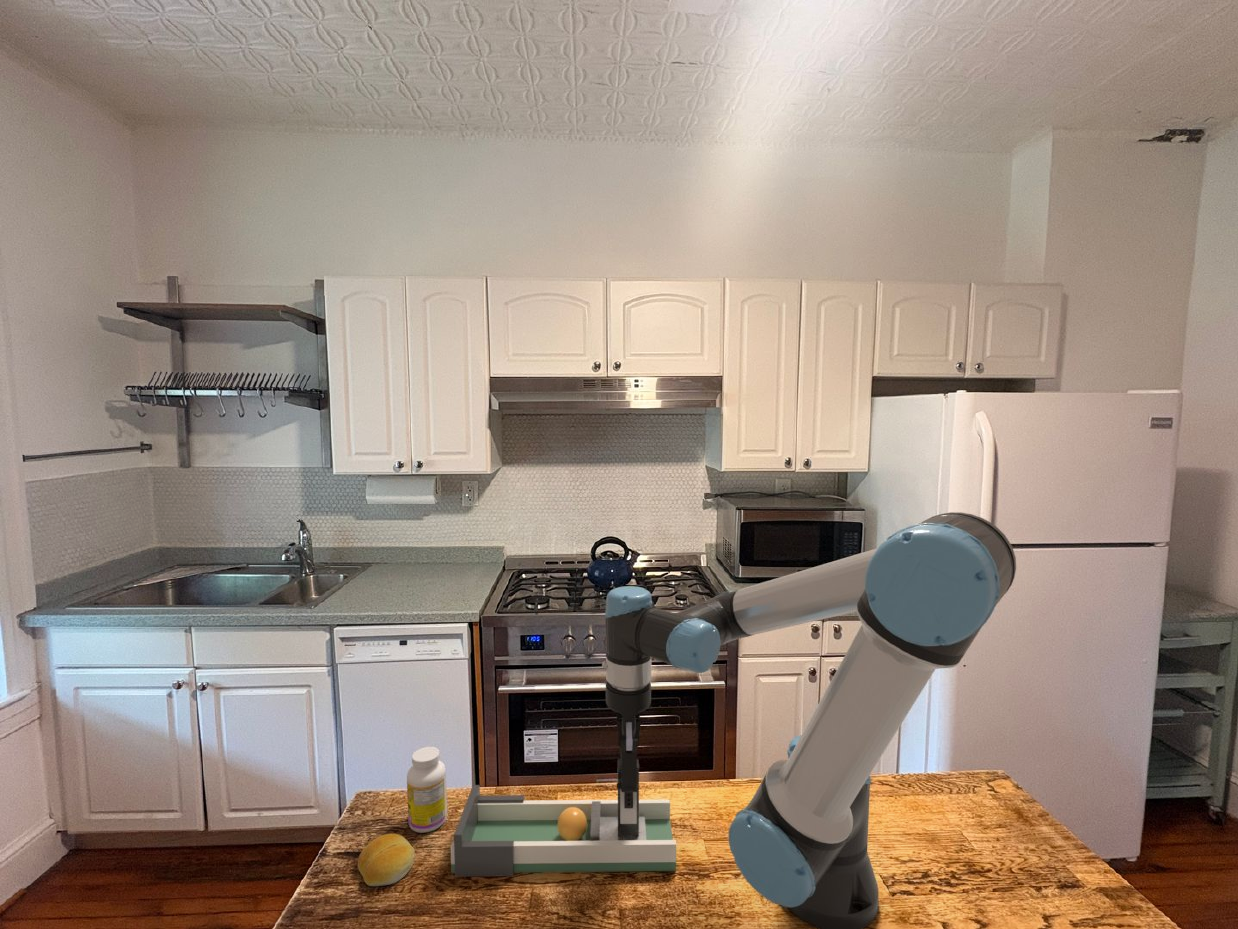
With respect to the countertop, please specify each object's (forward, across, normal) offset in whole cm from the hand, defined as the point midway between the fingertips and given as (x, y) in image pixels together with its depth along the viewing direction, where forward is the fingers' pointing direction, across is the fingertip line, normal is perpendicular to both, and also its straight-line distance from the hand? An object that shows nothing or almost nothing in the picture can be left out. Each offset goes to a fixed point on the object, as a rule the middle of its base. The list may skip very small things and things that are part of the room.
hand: (628, 815), depth 98 cm
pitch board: (+6, 0, -10) cm, 12 cm away
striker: (+4, 0, -2) cm, 4 cm away
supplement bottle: (+6, -6, -36) cm, 37 cm away
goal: (+6, 0, -22) cm, 23 cm away
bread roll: (+6, +4, -39) cm, 40 cm away
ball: (+2, 0, -10) cm, 10 cm away
